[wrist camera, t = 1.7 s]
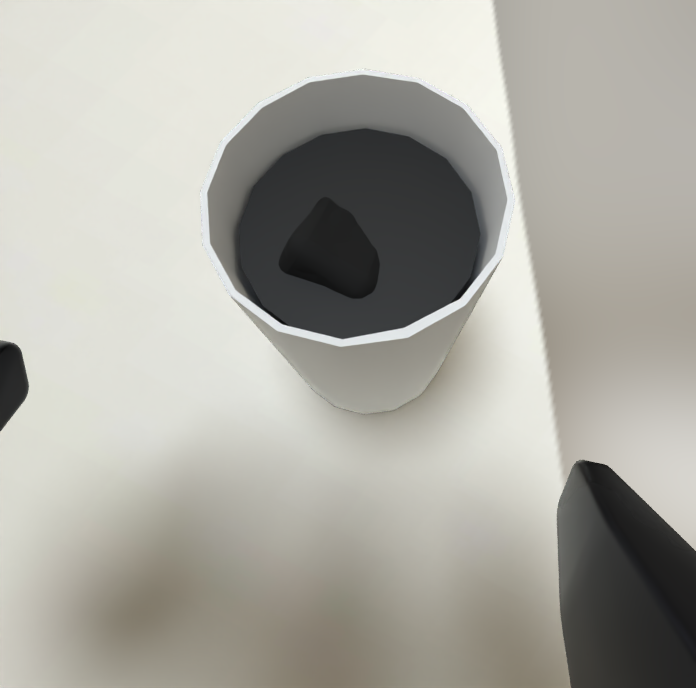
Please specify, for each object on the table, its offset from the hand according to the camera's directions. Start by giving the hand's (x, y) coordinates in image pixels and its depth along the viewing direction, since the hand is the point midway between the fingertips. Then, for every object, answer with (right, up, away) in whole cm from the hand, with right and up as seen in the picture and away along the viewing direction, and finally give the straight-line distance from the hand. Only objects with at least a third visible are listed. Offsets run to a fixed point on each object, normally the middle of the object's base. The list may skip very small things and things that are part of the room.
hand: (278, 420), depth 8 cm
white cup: (+2, +1, +13) cm, 13 cm away
